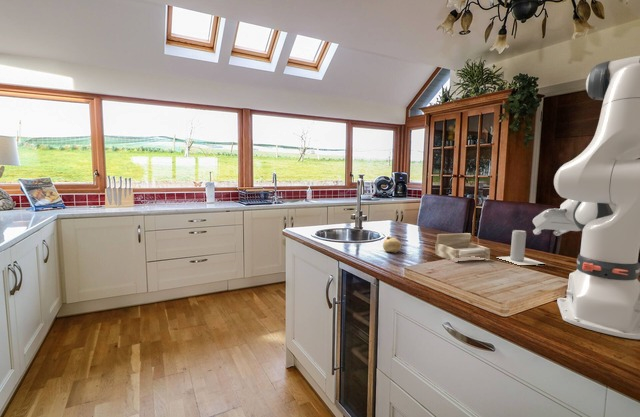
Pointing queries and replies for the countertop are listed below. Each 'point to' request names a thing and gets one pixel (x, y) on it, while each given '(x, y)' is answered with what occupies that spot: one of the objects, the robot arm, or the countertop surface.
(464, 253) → the light wood bar
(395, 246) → the onion
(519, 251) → the beverage can
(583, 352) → the countertop surface
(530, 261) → the ceramic tile
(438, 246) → the birch rack
